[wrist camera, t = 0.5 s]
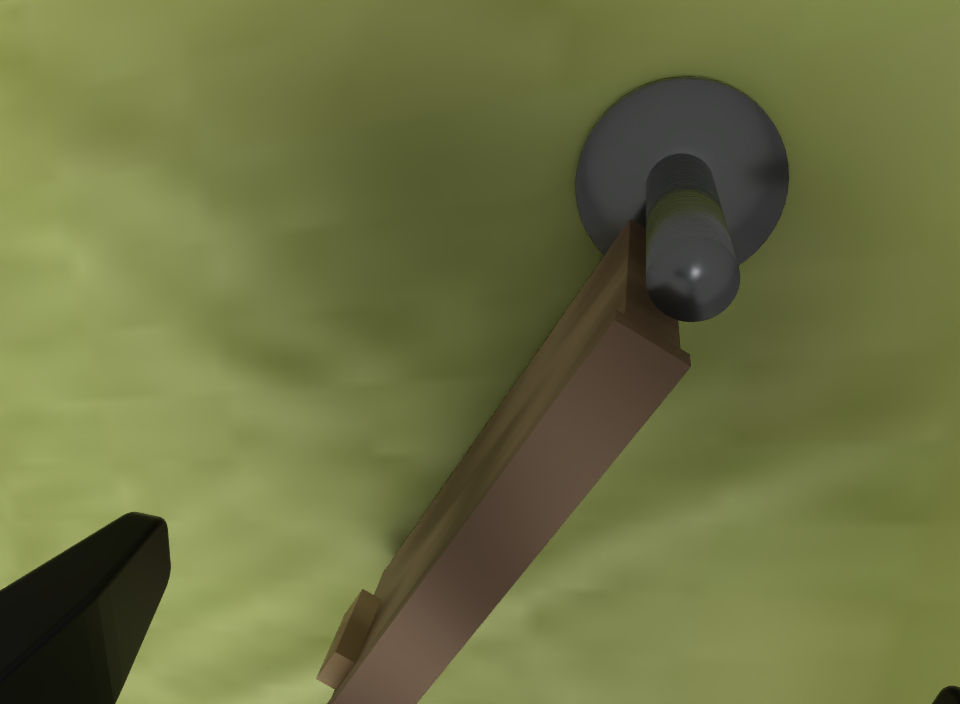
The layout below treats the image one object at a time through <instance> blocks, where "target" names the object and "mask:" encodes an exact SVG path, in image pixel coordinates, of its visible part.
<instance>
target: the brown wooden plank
mask: <svg viewBox="0 0 960 704" xmlns="http://www.w3.org/2000/svg"><path fill="white" fill-rule="evenodd" d="M690 367H691V363H690V354H688V353H686V352H685V351H683V350H682V349H680V338H679V326H678V320H676V319H673V318H671V317H669V316H667V315H665V314H664V313H662V312H661V311H660V310H659V309H658V308H657V307H656V306H655V305H654V304H653V302H652V300H651V299H650V296H649V294H648V291H647V286H646V229H645V228H644V227H642V226H641V225H639V224H637V223H636V222H634V221H633V220H631V219H630V220H629V221H628V223H627V224H626V226H625V227H624V228H623V230H622V231H621V233H620V234H619V236H618V237H617V238H616V240H615V241H614V243H613V244H612V246H611V247H610V248H609V250H608V251H607V253H606V254H605V256H604V257H603V259H602V260H601V261H600V263H599V264H598V266H597V267H596V269H595V270H594V271H593V273H592V274H591V276H590V277H589V279H588V280H587V281H586V283H585V284H584V286H583V287H582V289H581V290H580V291H579V293H578V294H577V296H576V297H575V299H574V300H573V302H572V303H571V304H570V306H569V307H568V309H567V310H566V312H565V313H564V314H563V316H562V317H561V319H560V320H559V322H558V323H557V324H556V326H555V327H554V329H553V330H552V332H551V333H550V334H549V336H548V337H547V339H546V340H545V342H544V343H543V344H542V346H541V347H540V349H539V350H538V352H537V353H536V355H535V356H534V357H533V359H532V360H531V362H530V363H529V365H528V366H527V367H526V369H525V370H524V372H523V373H522V375H521V376H520V377H519V379H518V380H517V382H516V383H515V385H514V386H513V387H512V389H511V390H510V392H509V393H508V395H507V396H506V397H505V399H504V400H503V402H502V403H501V405H500V406H499V408H498V409H497V410H496V412H495V413H494V415H493V416H492V418H491V419H490V420H489V422H488V423H487V425H486V426H485V428H484V429H483V430H482V432H481V433H480V435H479V436H478V438H477V439H476V440H475V442H474V443H473V445H472V446H471V448H470V449H469V450H468V452H467V453H466V455H465V456H464V458H463V459H462V461H461V462H460V463H459V465H458V466H457V468H456V469H455V471H454V472H453V473H452V475H451V476H450V478H449V479H448V481H447V482H446V483H445V485H444V486H443V488H442V489H441V491H440V492H439V493H438V495H437V496H436V498H435V499H434V501H433V502H432V503H431V505H430V506H429V508H428V509H427V511H426V512H425V514H424V515H423V516H422V518H421V519H420V521H419V522H418V524H417V525H416V526H415V528H414V529H413V531H412V532H411V534H410V535H409V536H408V538H407V539H406V541H405V542H404V544H403V545H402V546H401V548H400V549H399V551H398V552H397V554H396V555H395V556H394V558H393V559H392V561H391V562H390V564H389V565H388V567H387V568H386V569H385V571H384V572H383V574H382V577H381V579H380V582H379V584H378V586H377V589H376V591H375V594H374V595H372V594H371V593H369V592H367V591H365V590H364V589H362V590H361V592H360V593H359V595H358V596H357V598H356V599H355V601H354V602H353V604H352V605H351V606H350V608H349V609H348V611H347V612H346V614H345V615H344V617H343V620H342V622H341V624H340V626H339V629H338V631H337V633H336V635H335V638H334V640H333V642H332V644H331V647H330V649H329V651H328V653H327V656H326V658H325V660H324V662H323V665H322V667H321V669H320V671H319V674H318V676H317V678H316V679H317V680H319V681H321V682H323V683H324V684H326V685H328V686H330V687H332V688H333V689H335V690H334V693H333V695H332V698H331V699H330V700H329V702H328V703H327V704H417V702H418V701H419V700H420V699H421V698H422V696H423V695H424V694H425V693H426V691H427V690H428V689H429V688H430V687H431V685H432V684H433V683H434V682H435V680H436V679H437V678H438V677H439V675H440V674H441V673H442V672H443V671H444V669H445V668H446V667H447V666H448V664H449V663H450V662H451V661H452V659H453V658H454V657H455V656H456V655H457V653H458V652H459V651H460V650H461V648H462V647H463V646H464V645H465V644H466V642H467V641H468V640H469V639H470V637H471V636H472V635H473V634H474V632H475V631H476V630H477V629H478V628H479V626H480V625H481V624H482V623H483V621H484V620H485V619H486V618H487V616H488V615H489V614H490V613H491V612H492V610H493V609H494V608H495V607H496V605H497V604H498V603H499V602H500V601H501V599H502V598H503V597H504V596H505V594H506V593H507V592H508V591H509V589H510V588H511V587H512V586H513V585H514V583H515V582H516V581H517V580H518V578H519V577H520V576H521V575H522V573H523V572H524V571H525V570H526V569H527V567H528V566H529V565H530V564H531V562H532V561H533V560H534V559H535V557H536V556H537V555H538V554H539V553H540V551H541V550H542V549H543V548H544V546H545V545H546V544H547V543H548V542H549V540H550V539H551V538H552V537H553V535H554V534H555V533H556V532H557V530H558V529H559V528H560V527H561V526H562V524H563V523H564V522H565V521H566V519H567V518H568V517H569V516H570V514H571V513H572V512H573V511H574V510H575V508H576V507H577V506H578V505H579V503H580V502H581V501H582V500H583V499H584V497H585V496H586V495H587V494H588V492H589V491H590V490H591V489H592V487H593V486H594V485H595V484H596V483H597V481H598V480H599V479H600V478H601V476H602V475H603V474H604V473H605V471H606V470H607V469H608V468H609V467H610V465H611V464H612V463H613V462H614V460H615V459H616V458H617V457H618V456H619V454H620V453H621V452H622V451H623V449H624V448H625V447H626V446H627V444H628V443H629V442H630V441H631V440H632V438H633V437H634V436H635V435H636V433H637V432H638V431H639V430H640V428H641V427H642V426H643V425H644V424H645V422H646V421H647V420H648V419H649V417H650V416H651V415H652V414H653V412H654V411H655V410H656V409H657V408H658V406H659V405H660V404H661V403H662V401H663V400H664V399H665V398H666V397H667V395H668V394H669V393H670V392H671V390H672V389H673V388H674V387H675V385H676V384H677V383H678V382H679V381H680V379H681V378H682V377H683V376H684V374H685V373H686V372H687V371H688V369H689V368H690Z"/></svg>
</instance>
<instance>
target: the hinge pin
mask: <svg viewBox="0 0 960 704" xmlns="http://www.w3.org/2000/svg"><path fill="white" fill-rule="evenodd" d="M788 182H789V171H788V161H787V156H786V151H785V148H784V145H783V142H782V139H781V137H780V135H779V133H778V131H777V129H776V127H775V125H774V124H773V122H772V121H771V120H770V118H769V117H768V115H767V114H766V113H765V111H764V110H763V109H762V108H761V107H760V106H759V105H758V104H757V103H756V102H755V101H754V100H752V99H751V98H750V97H748V96H747V95H746V94H745V93H743V92H741V91H740V90H738V89H736V88H734V87H732V86H730V85H728V84H725V83H722V82H720V81H717V80H712V79H708V78H703V77H692V76H685V77H672V78H666V79H661V80H658V81H655V82H651V83H648V84H646V85H643V86H641V87H639V88H637V89H635V90H633V91H631V92H630V93H628V94H627V95H625V96H623V97H622V98H621V99H619V100H618V101H617V102H616V103H615V104H613V105H612V106H611V107H610V108H609V109H608V110H607V111H606V112H605V113H604V114H603V115H602V116H601V118H600V119H599V120H598V122H597V123H596V124H595V126H594V127H593V129H592V131H591V132H590V134H589V136H588V138H587V140H586V142H585V145H584V147H583V150H582V152H581V156H580V160H579V164H578V168H577V175H576V199H577V206H578V210H579V214H580V217H581V220H582V223H583V225H584V227H585V229H586V232H587V233H588V235H589V237H590V238H591V240H592V241H593V243H594V244H595V245H596V247H597V248H598V249H599V250H600V251H601V253H602V254H604V255H605V254H606V253H607V251H608V250H609V248H610V247H611V246H612V244H613V243H614V241H615V240H616V238H617V237H618V236H619V234H620V233H621V231H622V230H623V228H624V227H625V226H626V224H627V223H628V221H629V220H630V219H631V220H633V221H634V222H636V223H637V224H639V225H641V226H642V227H644V228H645V229H646V286H647V291H648V294H649V296H650V299H651V300H652V302H653V304H654V305H655V306H656V307H657V308H658V309H659V310H660V311H661V312H662V313H664V314H665V315H667V316H669V317H671V318H673V319H676V320H679V321H685V322H698V321H703V320H707V319H710V318H712V317H714V316H716V315H718V314H719V313H721V312H722V311H724V310H725V309H726V308H727V307H728V306H729V305H730V304H731V302H732V301H733V299H734V298H735V296H736V294H737V291H738V289H739V284H740V270H739V266H738V265H740V264H741V263H743V262H744V261H746V260H747V259H748V258H749V257H750V256H751V255H753V254H754V253H755V252H756V251H757V250H758V249H759V248H760V247H761V245H762V244H763V243H764V242H765V241H766V240H767V238H768V237H769V235H770V234H771V232H772V231H773V230H774V228H775V226H776V224H777V222H778V220H779V218H780V216H781V213H782V210H783V208H784V205H785V201H786V196H787V192H788Z"/></svg>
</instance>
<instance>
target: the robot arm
mask: <svg viewBox="0 0 960 704" xmlns="http://www.w3.org/2000/svg"><path fill="white" fill-rule="evenodd" d="M170 570H171V562H170V550H169V538H168V527H167V523H166V521H165V520H164V519H163V518H161V517H158V516H153V515H149V514H144V513H139V512H130V513H127V514H125V515H123V516H121V517H119V518H118V519H116V520H115V521H113V522H111V523H110V524H108V525H106V526H105V527H103V528H101V529H100V530H98V531H97V532H95V533H93V534H92V535H90V536H88V537H87V538H85V539H83V540H82V541H80V542H79V543H77V544H75V545H74V546H72V547H70V548H69V549H67V550H65V551H64V552H62V553H61V554H59V555H57V556H56V557H54V558H52V559H51V560H49V561H47V562H46V563H44V564H43V565H41V566H39V567H38V568H36V569H34V570H33V571H31V572H29V573H28V574H26V575H25V576H23V577H21V578H20V579H18V580H16V581H15V582H13V583H11V584H10V585H8V586H7V587H5V588H3V589H2V590H0V704H115V703H116V701H117V699H118V697H119V695H120V692H121V690H122V688H123V686H124V684H125V681H126V679H127V677H128V674H129V672H130V670H131V667H132V665H133V663H134V661H135V658H136V656H137V654H138V651H139V649H140V647H141V644H142V642H143V640H144V637H145V635H146V633H147V631H148V628H149V626H150V624H151V621H152V619H153V617H154V614H155V612H156V610H157V607H158V605H159V603H160V601H161V598H162V596H163V594H164V591H165V589H166V586H167V584H168V580H169V576H170ZM932 704H960V687H957V686H948V687H945V688H943V689H942V690H941V691H940V693H939V694H938V696H937V697H936V698H935V700H934V701H933V703H932Z"/></svg>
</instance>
